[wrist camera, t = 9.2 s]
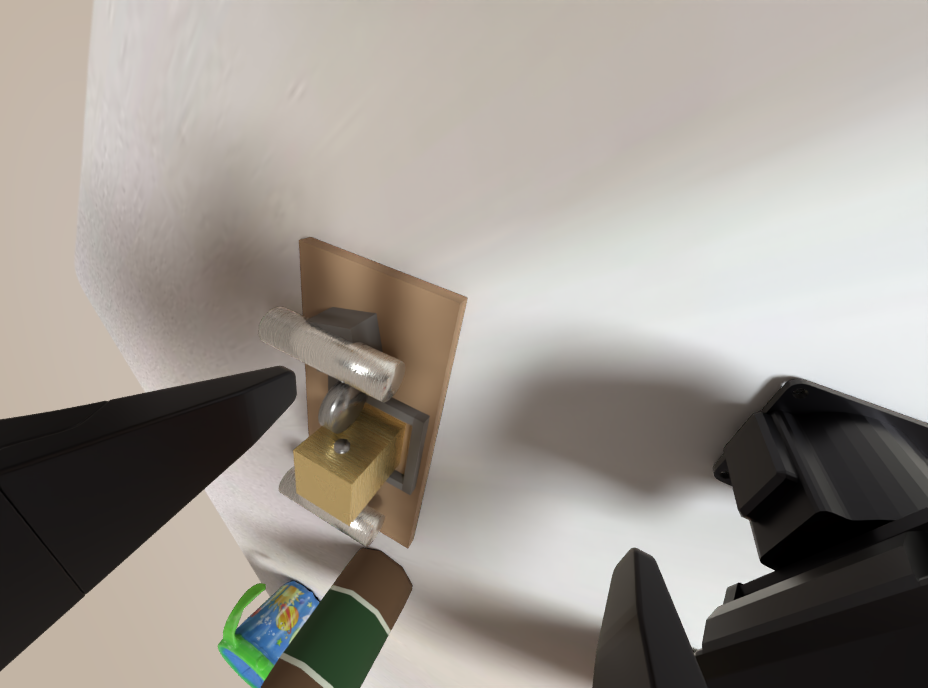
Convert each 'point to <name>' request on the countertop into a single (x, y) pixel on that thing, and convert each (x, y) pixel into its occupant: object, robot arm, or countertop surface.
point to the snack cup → (264, 630)
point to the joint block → (349, 463)
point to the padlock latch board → (396, 334)
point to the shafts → (335, 394)
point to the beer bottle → (345, 626)
